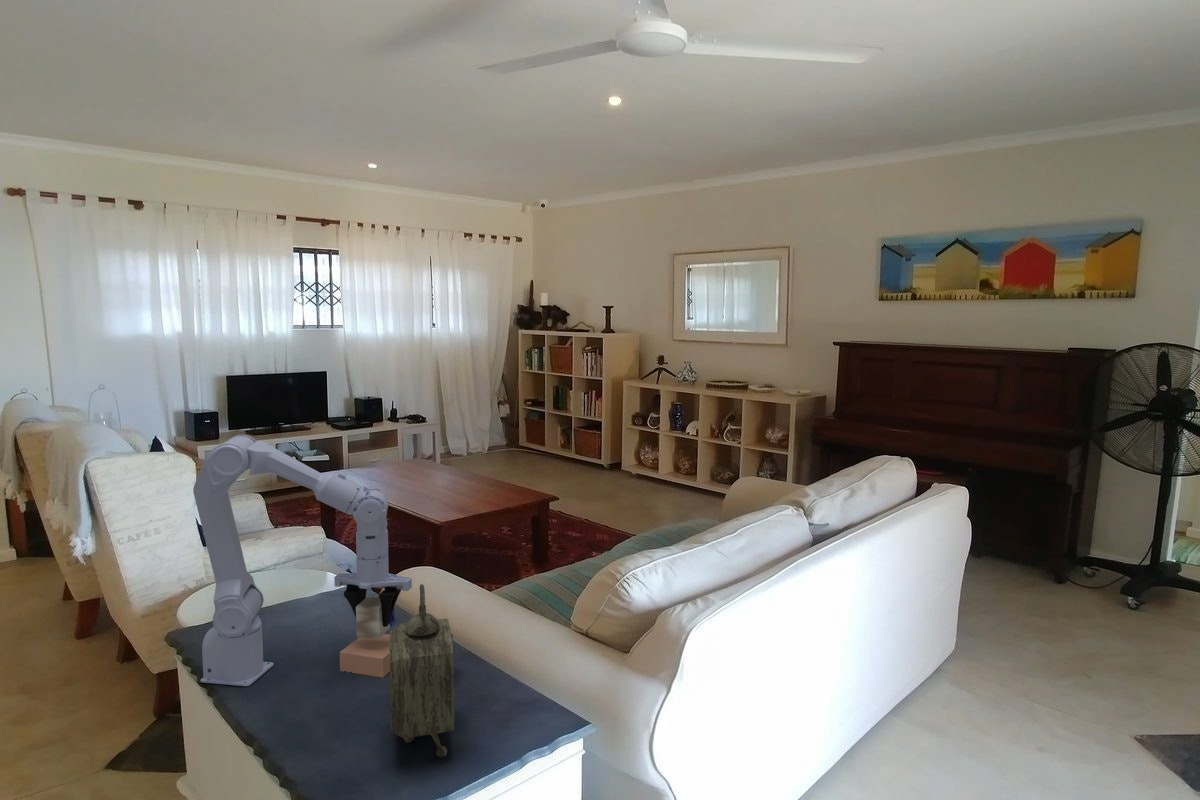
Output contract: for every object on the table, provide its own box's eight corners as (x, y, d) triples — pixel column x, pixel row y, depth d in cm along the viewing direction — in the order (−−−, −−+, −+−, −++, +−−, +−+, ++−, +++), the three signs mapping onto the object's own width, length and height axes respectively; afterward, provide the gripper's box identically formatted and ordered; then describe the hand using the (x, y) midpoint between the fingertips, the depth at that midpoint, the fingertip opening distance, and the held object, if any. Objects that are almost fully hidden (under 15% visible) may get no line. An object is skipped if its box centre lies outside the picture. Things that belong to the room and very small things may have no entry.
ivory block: (356, 637, 129) (355, 606, 128) (367, 626, 134) (366, 596, 133) (379, 638, 129) (378, 608, 128) (389, 627, 133) (389, 598, 132)
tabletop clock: (454, 763, 103) (453, 602, 100) (391, 773, 100) (388, 609, 97) (447, 710, 116) (446, 568, 114) (391, 718, 114) (389, 573, 111)
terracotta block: (340, 672, 129) (339, 652, 128) (367, 650, 138) (366, 631, 137) (383, 679, 127) (382, 658, 126) (407, 656, 135) (407, 637, 135)
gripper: (325, 559, 127) (327, 630, 128) (400, 564, 125) (401, 635, 126) (343, 547, 133) (345, 614, 135) (415, 551, 132) (416, 619, 133)
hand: (374, 623), depth 131 cm, fingers closed on ivory block, 4 cm apart
